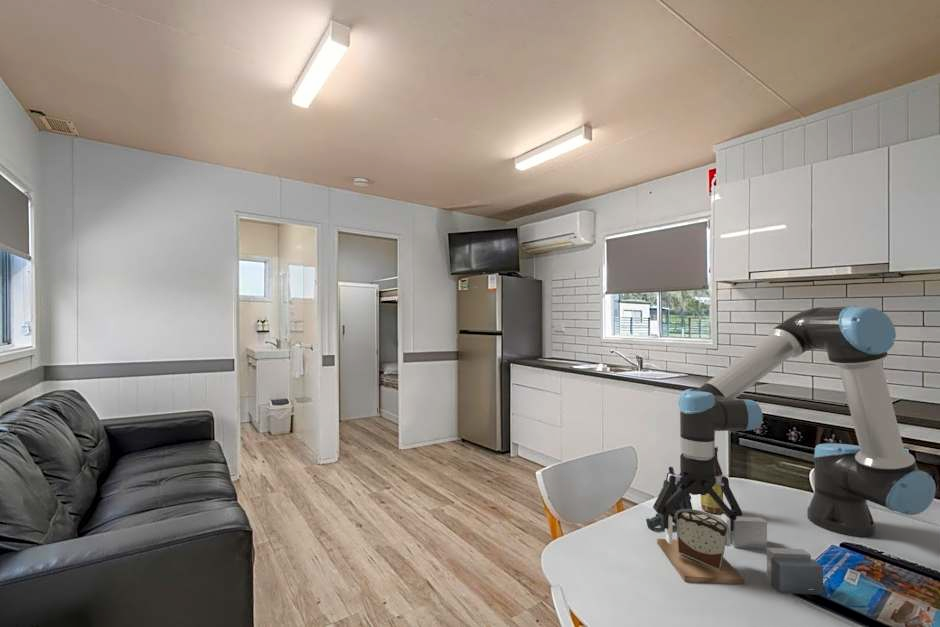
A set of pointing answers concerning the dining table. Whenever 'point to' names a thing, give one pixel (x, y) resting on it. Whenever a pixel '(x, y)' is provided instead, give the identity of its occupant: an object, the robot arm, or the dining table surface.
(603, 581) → the dining table surface
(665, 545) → the light brown board
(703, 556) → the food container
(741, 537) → the grey blocks
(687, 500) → the gun
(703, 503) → the sauce bottle
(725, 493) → the robot arm
